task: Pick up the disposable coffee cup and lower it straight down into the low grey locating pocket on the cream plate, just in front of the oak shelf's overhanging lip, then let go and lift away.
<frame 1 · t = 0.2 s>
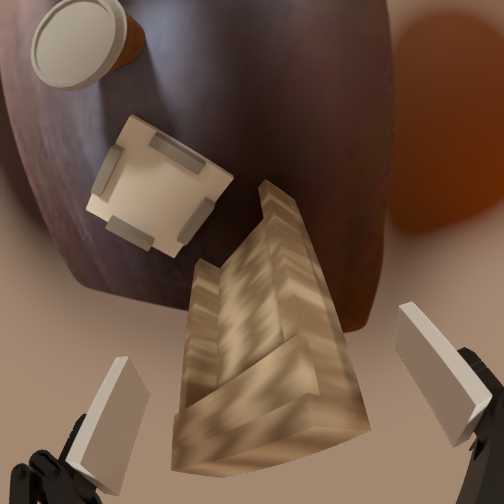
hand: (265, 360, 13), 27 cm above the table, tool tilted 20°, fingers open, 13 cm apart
disposable coffee cup: (120, 42, 24), on the table
seat plate: (153, 190, 36), on the table
overhang shelf: (241, 233, 41), on the table
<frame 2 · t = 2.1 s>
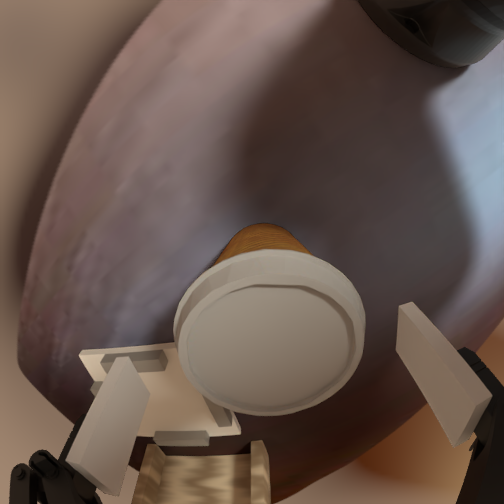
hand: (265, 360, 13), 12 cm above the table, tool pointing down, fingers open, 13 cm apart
disposable coffee cup: (263, 259, 24), on the table
seat plate: (162, 395, 29), on the table
overhang shelf: (206, 452, 34), on the table
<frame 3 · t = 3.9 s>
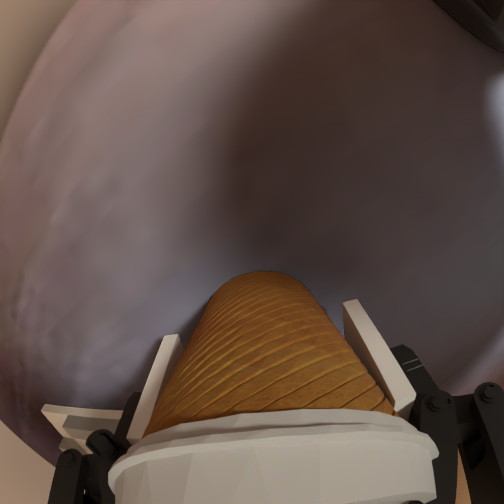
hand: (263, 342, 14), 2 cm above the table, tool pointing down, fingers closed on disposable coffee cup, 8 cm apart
disposable coffee cup: (262, 320, 16), on the table, touching gripper
seat plate: (141, 456, 21), on the table
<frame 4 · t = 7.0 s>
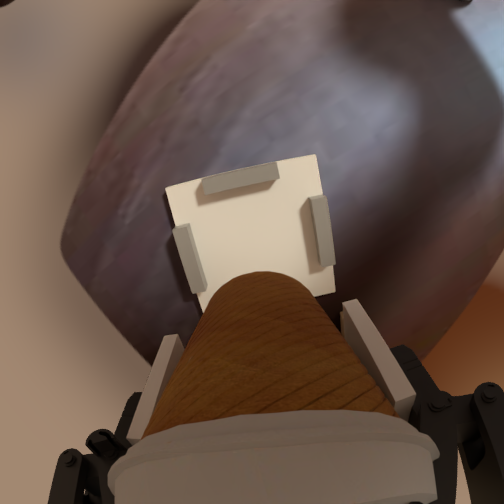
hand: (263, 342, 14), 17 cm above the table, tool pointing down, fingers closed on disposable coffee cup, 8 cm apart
disposable coffee cup: (262, 321, 16), point 15 cm above the table, touching gripper
seat plate: (255, 239, 30), on the table
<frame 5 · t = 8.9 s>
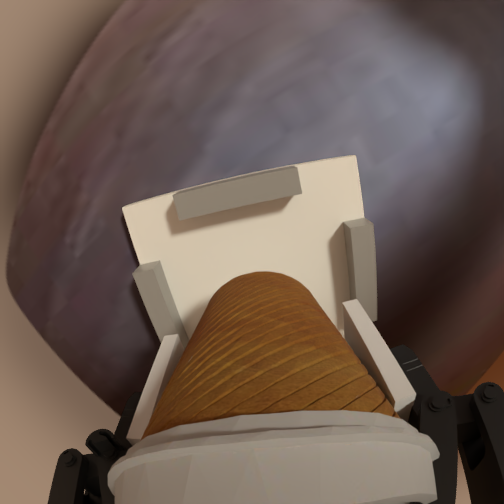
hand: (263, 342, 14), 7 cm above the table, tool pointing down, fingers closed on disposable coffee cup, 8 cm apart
disposable coffee cup: (262, 321, 16), point 5 cm above the table, touching gripper
seat plate: (260, 283, 20), on the table
when the fingers open (5 cm above the table, at t = 10.2 s): disposable coffee cup drops 2 cm, resting on seat plate.
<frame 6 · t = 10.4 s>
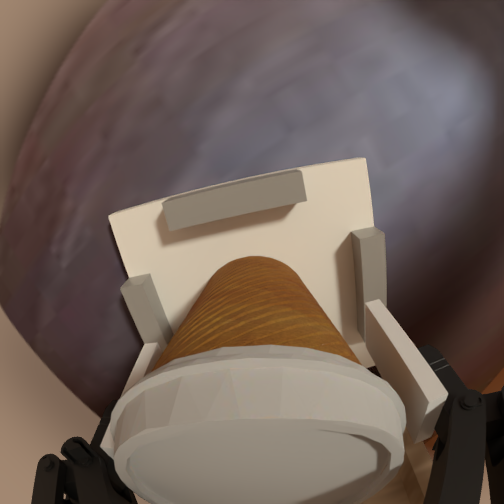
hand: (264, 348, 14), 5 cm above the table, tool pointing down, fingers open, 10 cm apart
disposable coffee cup: (255, 302, 18), point 1 cm above the table, touching gripper, seat plate
seat plate: (259, 298, 19), on the table
overhang shelf: (300, 420, 23), on the table
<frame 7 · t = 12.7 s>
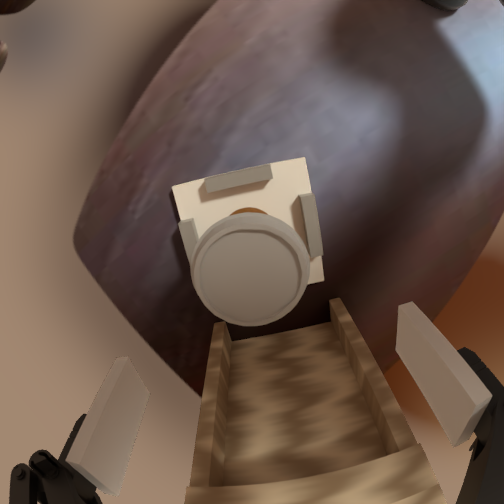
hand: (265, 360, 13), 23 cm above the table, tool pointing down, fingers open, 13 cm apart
disposable coffee cup: (249, 234, 33), point 1 cm above the table, touching seat plate
seat plate: (251, 233, 34), on the table
overhang shelf: (280, 326, 39), on the table
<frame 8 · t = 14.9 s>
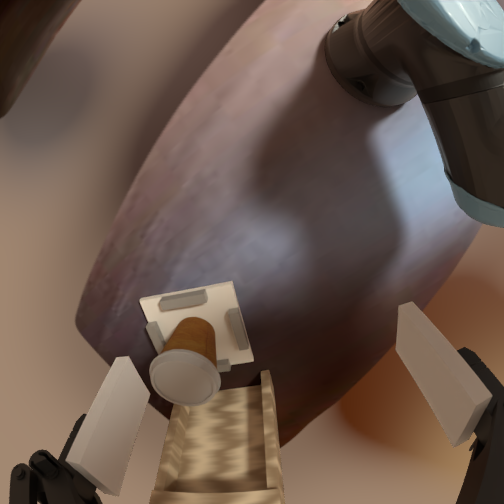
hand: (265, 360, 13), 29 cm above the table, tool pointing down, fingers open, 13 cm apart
disposable coffee cup: (195, 332, 45), point 1 cm above the table, touching seat plate
seat plate: (198, 330, 46), on the table
overhang shelf: (226, 386, 50), on the table
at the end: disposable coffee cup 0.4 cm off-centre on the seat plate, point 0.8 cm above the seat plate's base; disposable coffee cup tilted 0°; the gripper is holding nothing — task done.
